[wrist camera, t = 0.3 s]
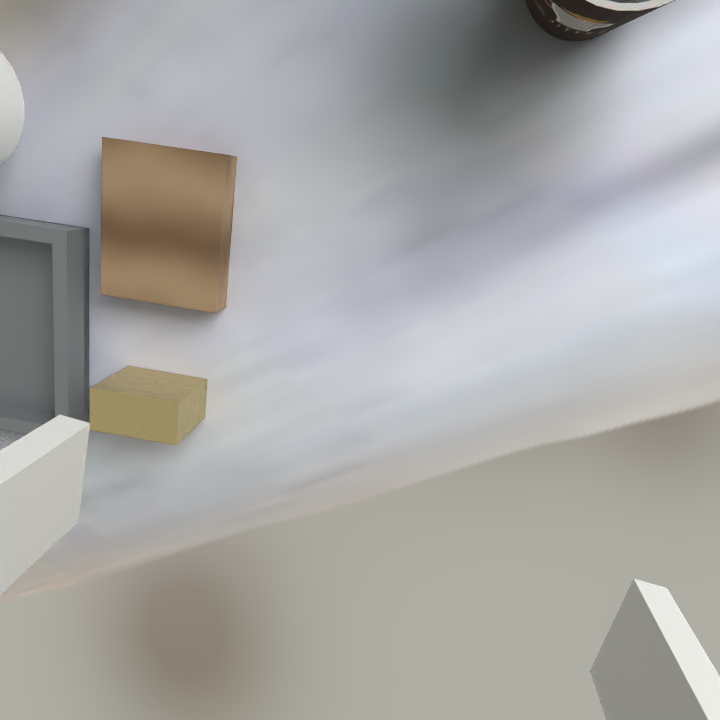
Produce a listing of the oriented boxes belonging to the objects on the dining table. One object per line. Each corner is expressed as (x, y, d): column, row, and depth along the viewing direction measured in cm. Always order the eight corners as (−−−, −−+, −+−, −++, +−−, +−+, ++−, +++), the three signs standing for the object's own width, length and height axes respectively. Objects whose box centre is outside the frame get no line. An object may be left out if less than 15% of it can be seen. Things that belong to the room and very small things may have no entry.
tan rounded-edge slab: (122, 140, 39) (102, 136, 36) (238, 157, 38) (226, 154, 36) (119, 288, 42) (100, 294, 39) (227, 306, 41) (215, 313, 39)
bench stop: (127, 365, 43) (89, 387, 38) (207, 379, 42) (178, 402, 37) (127, 403, 43) (89, 429, 39) (204, 417, 43) (176, 445, 38)
